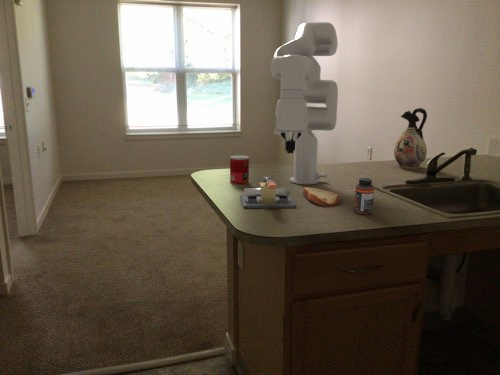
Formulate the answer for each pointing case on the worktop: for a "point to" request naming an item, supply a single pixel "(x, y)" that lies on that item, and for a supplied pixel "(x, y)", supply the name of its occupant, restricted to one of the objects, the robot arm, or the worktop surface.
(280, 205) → the valve assembly
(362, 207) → the supplement bottle
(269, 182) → the lever
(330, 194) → the bread slice
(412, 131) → the ceramic jug
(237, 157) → the canned food
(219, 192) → the worktop surface
